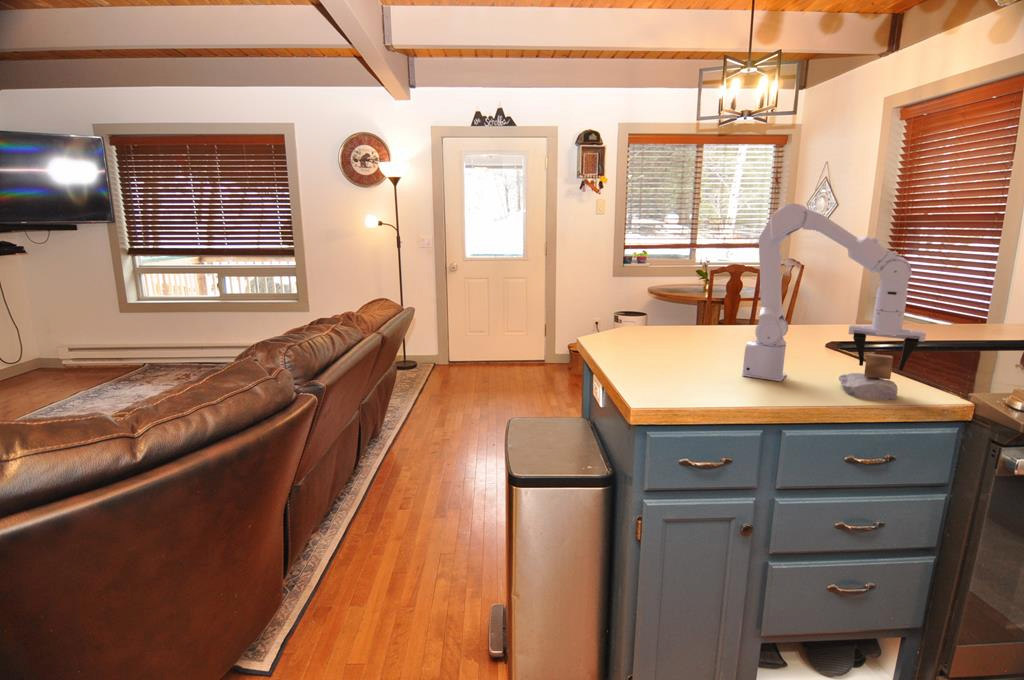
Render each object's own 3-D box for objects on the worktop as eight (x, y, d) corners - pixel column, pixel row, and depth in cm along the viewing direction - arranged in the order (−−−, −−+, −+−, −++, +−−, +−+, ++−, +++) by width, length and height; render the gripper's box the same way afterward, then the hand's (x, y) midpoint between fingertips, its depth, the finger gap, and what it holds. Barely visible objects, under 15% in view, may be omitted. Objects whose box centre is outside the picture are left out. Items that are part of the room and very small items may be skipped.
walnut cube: (864, 376, 124) (866, 355, 124) (864, 373, 128) (866, 353, 128) (890, 379, 122) (892, 358, 121) (889, 376, 126) (892, 355, 125)
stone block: (853, 406, 122) (902, 400, 119) (851, 386, 121) (900, 380, 119) (833, 392, 133) (877, 387, 131) (831, 374, 132) (875, 368, 130)
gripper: (928, 310, 120) (918, 368, 123) (853, 305, 128) (845, 359, 131) (929, 315, 115) (919, 375, 118) (851, 309, 123) (843, 365, 126)
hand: (880, 367), depth 124 cm, fingers open, 7 cm apart
